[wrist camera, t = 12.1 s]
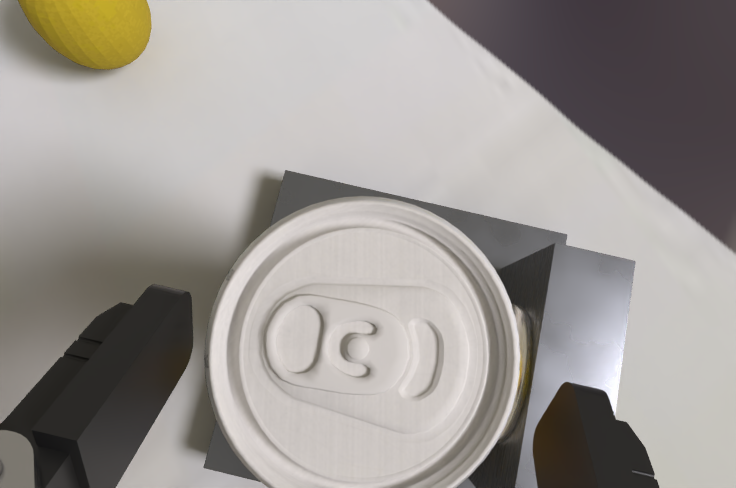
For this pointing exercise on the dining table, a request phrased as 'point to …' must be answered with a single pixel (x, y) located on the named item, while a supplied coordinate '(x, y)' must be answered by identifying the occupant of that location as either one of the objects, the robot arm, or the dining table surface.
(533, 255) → the scale
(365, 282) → the beer can
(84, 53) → the lemon
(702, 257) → the dining table surface
